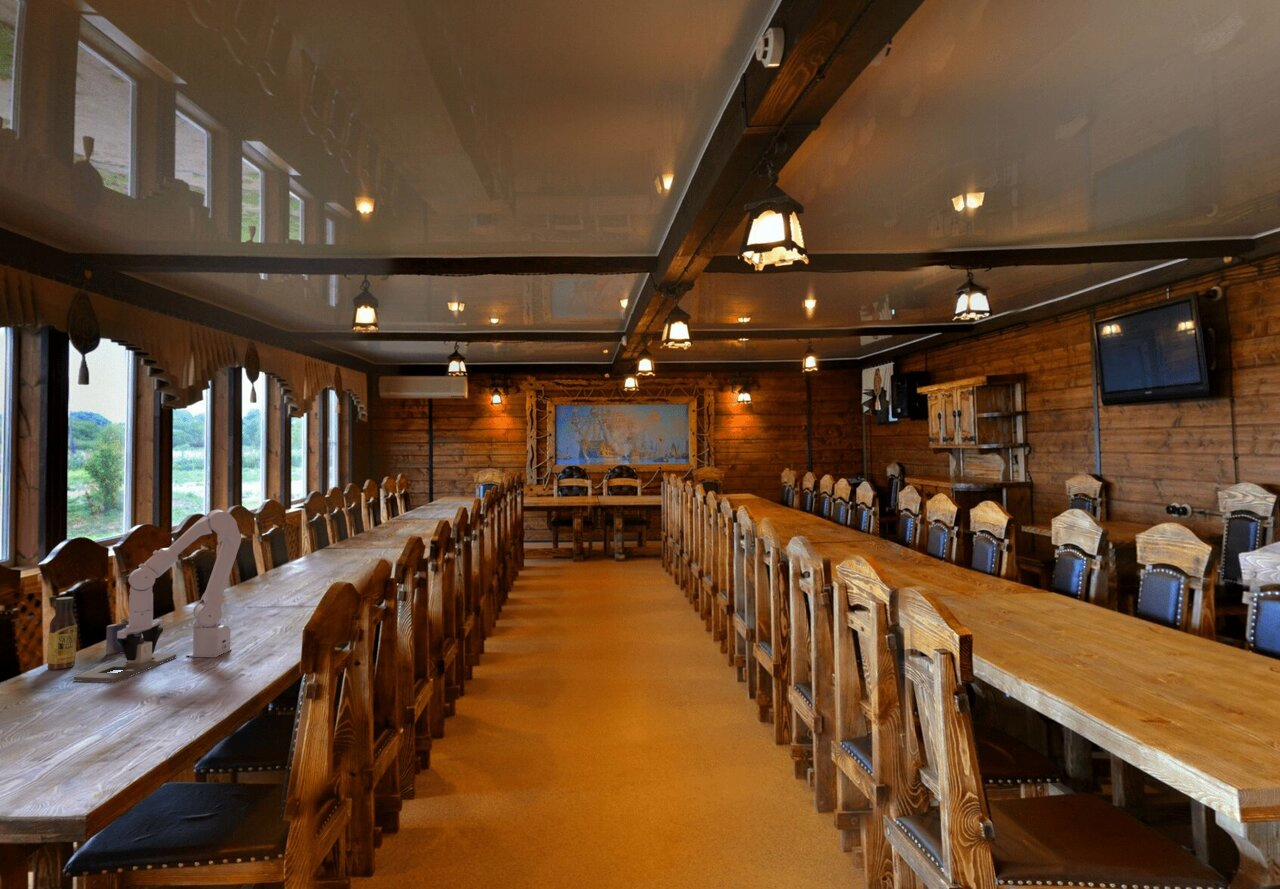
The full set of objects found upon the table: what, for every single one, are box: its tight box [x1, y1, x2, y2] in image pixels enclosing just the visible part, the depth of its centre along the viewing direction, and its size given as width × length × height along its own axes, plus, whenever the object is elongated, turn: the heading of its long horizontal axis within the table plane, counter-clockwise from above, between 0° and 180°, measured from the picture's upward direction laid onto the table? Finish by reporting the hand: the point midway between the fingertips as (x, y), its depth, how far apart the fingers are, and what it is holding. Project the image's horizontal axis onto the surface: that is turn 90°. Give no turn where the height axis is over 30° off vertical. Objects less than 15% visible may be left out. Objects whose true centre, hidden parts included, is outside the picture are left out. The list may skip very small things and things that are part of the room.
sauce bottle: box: [47, 596, 78, 671], centre depth 198 cm, size 6×6×20 cm
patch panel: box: [73, 653, 177, 683], centre depth 196 cm, size 12×22×1 cm, turn 176°
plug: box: [128, 637, 153, 663], centre depth 201 cm, size 5×4×7 cm
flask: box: [105, 616, 143, 656], centre depth 213 cm, size 9×3×11 cm, turn 146°
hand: (140, 656), depth 201 cm, fingers open, 6 cm apart
